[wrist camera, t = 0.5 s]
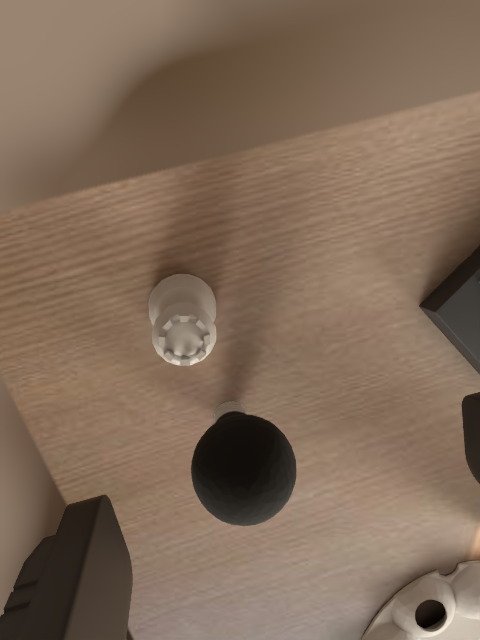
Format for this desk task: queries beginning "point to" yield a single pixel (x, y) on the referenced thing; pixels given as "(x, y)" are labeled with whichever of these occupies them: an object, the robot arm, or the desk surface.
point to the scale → (459, 308)
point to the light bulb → (243, 467)
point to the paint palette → (452, 591)
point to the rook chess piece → (183, 319)
